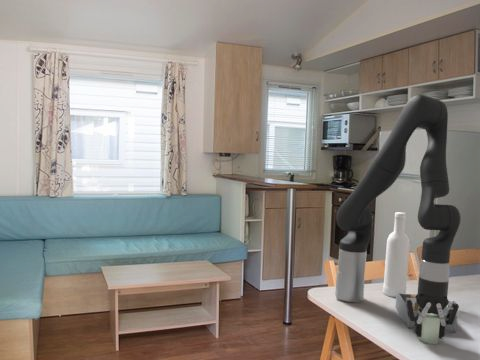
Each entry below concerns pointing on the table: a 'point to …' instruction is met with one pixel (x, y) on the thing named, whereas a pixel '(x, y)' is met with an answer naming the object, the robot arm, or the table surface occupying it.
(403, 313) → the tote
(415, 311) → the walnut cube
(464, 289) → the table surface
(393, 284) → the bottle
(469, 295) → the table surface
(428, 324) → the sage cylinder
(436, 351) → the table surface
